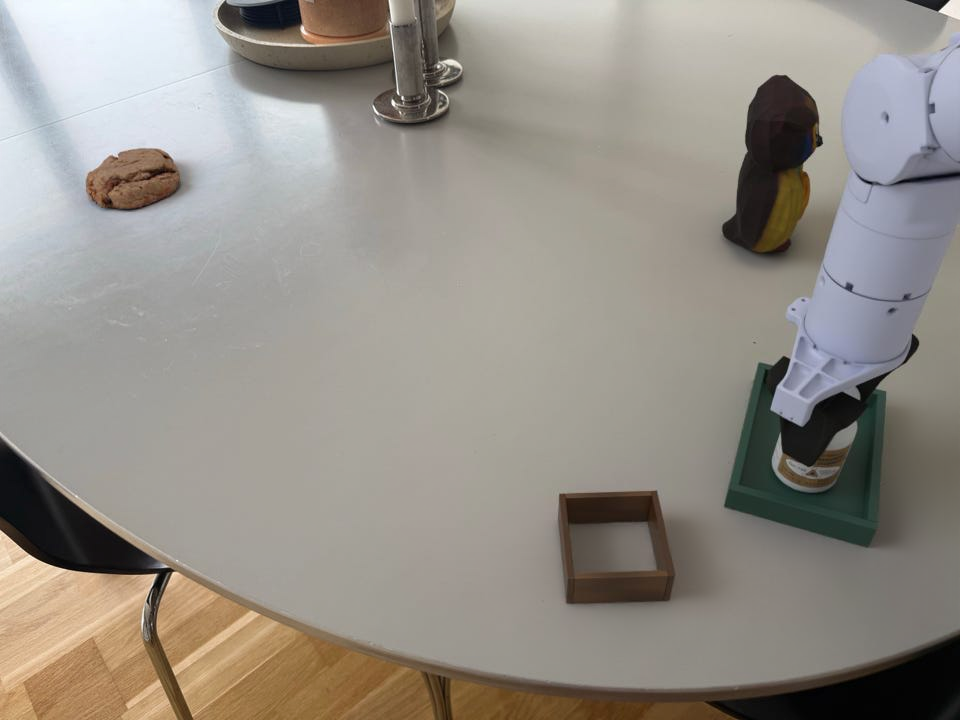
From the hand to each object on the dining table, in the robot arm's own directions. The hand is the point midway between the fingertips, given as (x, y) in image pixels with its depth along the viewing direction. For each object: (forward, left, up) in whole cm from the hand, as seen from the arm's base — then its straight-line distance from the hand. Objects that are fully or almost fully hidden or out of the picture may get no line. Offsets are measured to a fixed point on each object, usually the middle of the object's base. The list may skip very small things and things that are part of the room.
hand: (817, 435), depth 54 cm
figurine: (+18, -22, -4) cm, 29 cm away
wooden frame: (+5, +15, -4) cm, 16 cm away
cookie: (+72, +16, -4) cm, 74 cm away
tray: (+1, -2, -4) cm, 5 cm away
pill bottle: (0, 0, -4) cm, 4 cm away
